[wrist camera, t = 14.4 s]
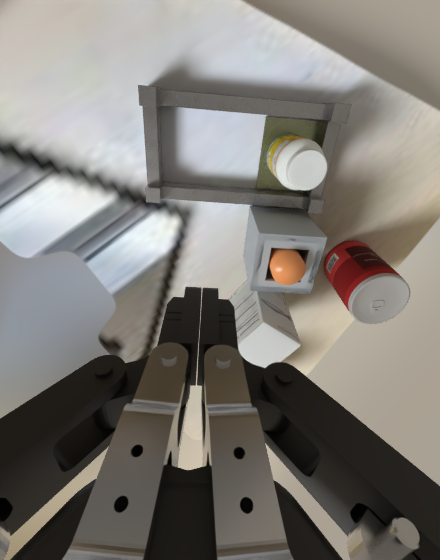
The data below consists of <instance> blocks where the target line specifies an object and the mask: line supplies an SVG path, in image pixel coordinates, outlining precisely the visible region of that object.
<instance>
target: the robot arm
mask: <svg viewBox="0 0 440 560" xmlns="http://www.w3.org/2000/svg"><path fill="white" fill-rule="evenodd" d="M200 309H201V323H200ZM199 327H200V338H199ZM198 342H199V357H198V378H197V385H199V386H202V398H201V418H202V445H203V467H200V468H197V469H193V470H184V469H181V468H178V457H179V450H180V444H181V439H182V433H183V427H184V421H185V416H186V410H187V403H188V399H189V394H190V385H196V371H197V356H198ZM265 443H266V444H267V445H268V446H269V448H270V449H271V450H272V451H273V452H274V453H275V454H276V456H277V457H278V458H279V459H280V460H281V461H282V462H283V463H284V465H285V466H286V467H287V468H288V469H289V470H290V471H291V473H292V474H293V475H294V476H295V477H296V478H297V479H298V481H299V482H300V483H301V484H302V485H303V486H304V487H305V488H306V489H307V491H308V492H309V493H310V494H311V495H312V496H313V497H314V499H315V500H316V501H317V502H318V503H319V504H320V505H321V507H323V509H324V510H325V511H326V512H327V513H328V515H329V516H330V517H331V518H332V519H333V520H334V521H335V522H336V524H337V525H338V526H339V527H340V528H341V529H342V530H343V532H344V533H345V534H346V535H347V536H348V542H347V544H348V552H349V556H350V559H351V560H440V486H439V485H438V484H436V483H435V482H434V481H433V480H431V479H430V478H429V477H428V476H426V475H425V474H424V473H423V472H422V471H421V470H419V469H418V468H417V467H416V466H414V465H413V464H412V463H411V462H409V461H408V460H407V459H406V458H405V457H403V456H402V455H401V454H400V453H399V452H397V451H396V450H395V449H394V448H392V447H391V446H390V445H389V444H387V443H386V442H385V441H384V440H383V439H381V438H380V437H379V436H378V435H377V434H375V433H374V432H373V431H372V430H370V429H369V428H368V427H367V426H366V425H364V424H363V423H362V422H361V421H360V420H358V419H357V418H356V417H355V416H354V415H352V414H351V413H350V412H349V411H347V410H346V409H345V408H344V407H343V406H341V405H340V404H339V403H338V402H336V401H335V400H334V399H333V398H331V397H330V396H329V395H328V394H326V393H325V392H324V391H323V390H322V389H320V388H319V387H318V386H317V385H316V384H314V383H313V382H312V381H311V380H310V379H308V378H307V377H306V376H305V375H304V374H302V373H301V372H300V371H299V370H297V369H296V368H295V367H293V366H292V365H290V364H287V363H283V362H275V363H272V364H270V365H268V366H267V367H266V368H263V367H260V366H257V365H254V364H252V363H250V362H248V361H247V360H245V359H244V358H243V357H242V356H241V354H240V352H239V349H238V341H237V331H236V320H235V310H234V306H233V305H232V303H231V302H230V300H224V299H218V288H203V292H202V308H201V288H198V287H186V289H185V295H184V298H183V297H173V298H172V299H171V300H170V302H169V303H168V304H167V308H166V312H165V316H164V320H163V324H162V328H161V333H160V337H159V341H158V345H157V347H155V348H154V349H153V350H152V351H151V353H150V355H149V356H148V357H146V358H144V359H141V360H138V361H133V362H129V363H125V362H124V361H123V360H122V359H121V358H120V357H118V356H115V355H104V356H100V357H97V358H95V359H93V360H91V361H90V362H88V363H87V364H85V365H84V366H82V367H81V368H79V369H78V370H76V371H74V372H73V373H71V374H70V375H68V376H66V377H65V378H63V379H62V380H60V381H59V382H57V383H55V384H54V385H52V386H51V387H49V388H48V389H46V390H44V391H43V392H41V393H40V394H38V395H37V396H35V397H33V398H32V399H30V400H29V401H27V402H26V403H24V404H23V405H21V406H20V407H18V408H16V409H15V410H13V411H12V412H10V413H8V414H7V415H5V416H4V417H2V418H1V419H0V560H4V558H5V556H6V554H7V551H8V548H9V544H10V536H11V535H12V534H13V533H15V532H16V531H17V530H18V529H19V528H20V527H21V526H22V525H23V524H24V523H25V522H26V521H28V520H29V519H30V518H31V517H32V516H33V515H34V514H35V513H36V512H37V511H39V510H40V509H41V508H42V507H43V506H44V505H45V504H46V503H47V502H48V501H49V500H50V499H52V498H53V497H54V496H55V495H56V494H57V493H58V492H59V491H60V490H61V489H63V488H64V487H65V486H66V485H67V484H68V483H69V482H70V481H71V480H72V479H73V478H75V476H77V475H78V474H79V473H80V472H81V471H82V470H83V469H84V468H85V467H87V466H88V465H89V464H90V463H91V462H92V461H93V460H94V459H95V458H96V457H97V456H99V455H100V454H101V453H102V452H103V451H104V450H105V449H106V448H107V447H108V446H109V448H108V450H107V453H106V455H105V458H104V461H103V463H102V466H101V468H100V471H99V473H98V476H97V479H95V480H93V481H92V482H90V483H89V484H88V485H86V486H85V487H83V488H82V489H81V490H80V491H78V492H77V493H76V494H75V495H74V496H73V497H72V498H71V499H70V500H69V501H68V502H67V503H66V504H65V505H64V506H63V507H62V508H61V509H60V510H59V511H58V512H57V513H56V514H55V515H54V516H53V517H52V518H51V519H50V520H49V521H48V522H47V523H46V524H45V525H44V526H43V527H42V528H41V529H40V530H39V531H38V532H37V533H36V534H35V535H34V536H33V537H32V539H30V541H28V542H27V543H26V544H25V545H24V546H23V547H22V548H21V549H20V550H19V552H17V553H16V555H14V556H13V558H12V559H11V560H343V559H342V558H341V557H340V556H339V554H338V553H337V552H336V550H335V549H334V548H333V547H332V546H331V544H330V543H329V542H328V540H327V539H326V538H325V537H324V535H323V534H322V533H321V531H320V530H319V529H318V527H317V526H316V525H315V524H314V523H313V521H312V520H311V519H310V518H309V516H308V515H307V513H306V512H305V511H304V510H303V508H302V507H301V506H300V505H299V503H298V502H297V501H296V500H295V498H294V497H293V496H292V495H291V494H290V493H289V492H288V491H287V490H286V489H285V488H284V487H282V486H281V485H280V484H279V483H277V482H276V481H274V480H273V477H272V472H271V468H270V463H269V458H268V454H267V449H266V445H265Z"/></svg>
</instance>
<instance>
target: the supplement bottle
mask: <svg viewBox="0 0 440 560" xmlns="http://www.w3.org/2000/svg"><path fill="white" fill-rule="evenodd" d="M267 165H268V167H269V169H270V171H271V172H272V174H273V175H274V176H275V177H276V178H277V179H278V180H279V181H280V183H281V184H282V185H284V186H285V187H286V188H289V189H292V190H311V189H313V188H315V187H316V186H318V185H319V184H320V183H321V182H322V181H323V179H324V177H325V175H326V172H327V161H326V158H325V157H324V153H323V151H322V149H321V147H320V146H319V145H318V144H317V143H316V142H314V141H312V140H310V139H307V138H304V137H301V136H298V135H295V134H286V135H282V136H280V137H278V138H277V139H276V140H275V141H274V142H273V143H272V144H271V146H270V148H269V150H268V153H267Z"/></svg>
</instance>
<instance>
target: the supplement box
mask: <svg viewBox="0 0 440 560" xmlns="http://www.w3.org/2000/svg"><path fill="white" fill-rule="evenodd" d="M228 300H230V302H231V303H232V305H233V306H234V310H235V320H236V331H237V341H238V349H239V352H240V354H241V356H242V357H243V358H244V359H245V360H247V361H248V362H250V363H252V364H254V365H257V366H260V367H263V368H266V367H267V366H268V365H270V364H272V363H275V362H281V361H283V360H284V359H285V358H286V357H288V356H289V355H290V354H291V353H293V352H294V351H295V350H296V349H298V348H299V347H300V346H301V343H300V340H299V338H298V335H297V332H296V329H295V326H294V323H293V321H292V318H291V315H290V312H289V309H288V306H287V303H286V301H285V298H284V295H283V294H282V293H281V292H264V291H250V288H249V283H248V279H247V280H246V281H245V282H244V283H243V284H242V285H241V286H240V287H239V288H238V290H237V291H236V292H235V293H234V294H233V295H232V296H231V297H230V298H229V299H228Z"/></svg>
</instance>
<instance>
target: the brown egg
mask: <svg viewBox="0 0 440 560" xmlns="http://www.w3.org/2000/svg"><path fill="white" fill-rule="evenodd" d="M268 264H269V267H270V270H271V273H272V276H273V278H274V280H275V281H276V282H277V283H279V284H282V285H292V284H295V283H297V282H298V281H300V280H301V279H302V278H303V276H304V274H305V272H306V265H305V263H304V261H303V259H302V258H301V256H300V254H299V252H298V251H297V249H285V248H271V252H270V257H269V263H268Z"/></svg>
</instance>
